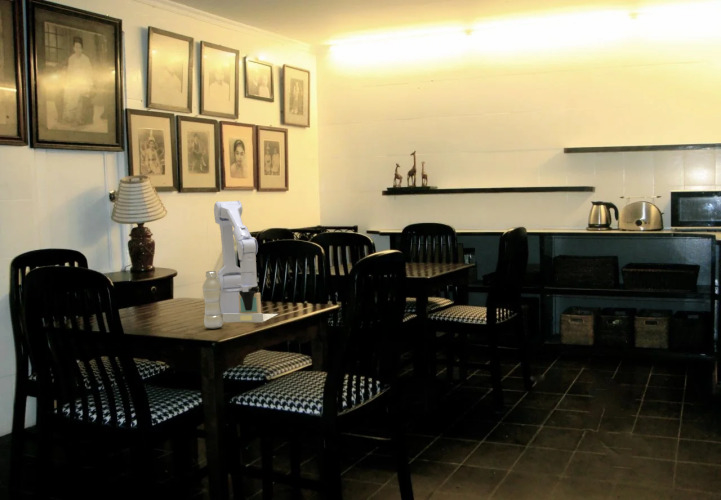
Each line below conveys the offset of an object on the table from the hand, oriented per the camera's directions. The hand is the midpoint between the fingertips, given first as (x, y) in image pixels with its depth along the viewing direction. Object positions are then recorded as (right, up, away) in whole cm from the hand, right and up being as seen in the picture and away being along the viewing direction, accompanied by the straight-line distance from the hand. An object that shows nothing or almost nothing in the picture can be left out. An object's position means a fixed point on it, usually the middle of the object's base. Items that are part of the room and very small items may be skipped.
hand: (250, 308), depth 268 cm
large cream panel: (0, -4, +4) cm, 6 cm away
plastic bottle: (-11, -6, -13) cm, 18 cm away
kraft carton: (0, -2, 0) cm, 2 cm away
